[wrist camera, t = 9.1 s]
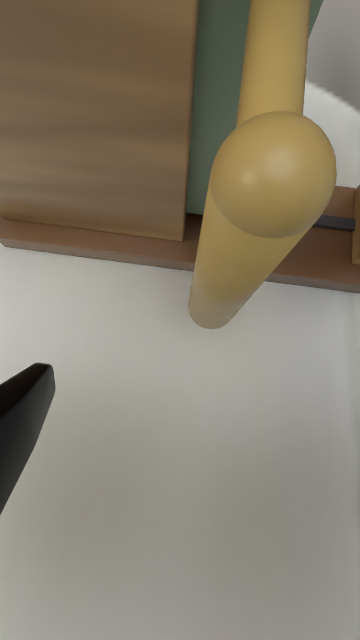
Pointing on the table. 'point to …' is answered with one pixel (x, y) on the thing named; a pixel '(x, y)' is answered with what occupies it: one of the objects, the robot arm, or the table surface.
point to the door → (252, 149)
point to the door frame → (122, 141)
